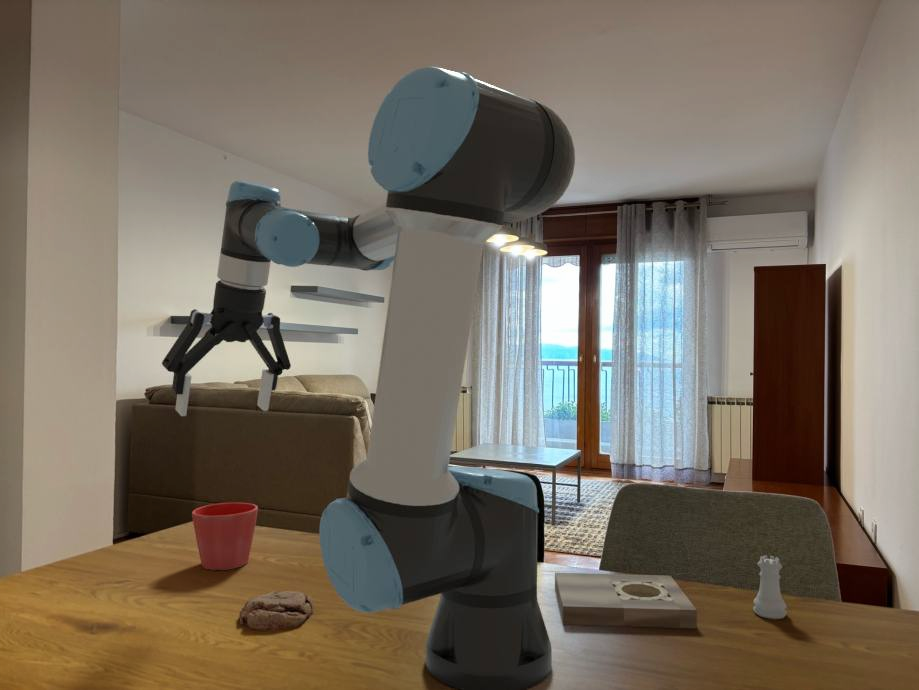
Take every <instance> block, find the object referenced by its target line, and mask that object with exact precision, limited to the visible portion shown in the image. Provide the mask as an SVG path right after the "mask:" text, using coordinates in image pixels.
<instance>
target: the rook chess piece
mask: <svg viewBox="0 0 919 690" xmlns="http://www.w3.org/2000/svg"><path fill="white" fill-rule="evenodd" d="M769 557H770V558H768V555H763V556H759V561H758V562H756V563H757V565H758V567H759V569H760V572H759V573H758V575H759V576H760V583H759V587H758V588H759V589H758V592H757V594H756V597H755V598H754V600H753V604H754V606H753V607H752V609H753V611H754V613H755V614H756V615H757V616H758V617H760V618H764V619H768V620H782V619H784V618H785V617H786V615H788V613H787V611H786V609H787V608H788V607H787V604H786V602H785V601H784V598H783V596H782V594H781V587H780V579H781V575H780V570H781V569H782V568H783V565H782V564H781V563H780V561H781V560H780V558H779V557H775V556H772V555H770V556H769Z"/></svg>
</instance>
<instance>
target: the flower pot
mask: <svg viewBox="0 0 919 690" xmlns="http://www.w3.org/2000/svg"><path fill="white" fill-rule="evenodd" d="M258 511H259V507H258V505H256V504H254V503H249V502H221V503H220V502H219V503H213V504H208V505H204V506H200V507H197V508H195V509H194V510H193V511H192V512H191V518H192V522H193V523H192V524H193V528H194V533H195V539H196V544H197V549H198V553H199V558H200V559H199V560H200V563H201V566H202V568H204V569H205V570H209V569H210V571H217V570H219V571H226V570H233V569H237V568H239V567H240V568H241V567H243V566H245V565H246V564H247V563H248V562H249V560H250V555H251V550H252V545H253V541H254V535H255V530H256V524H257V518H258Z"/></svg>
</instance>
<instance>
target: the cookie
mask: <svg viewBox="0 0 919 690" xmlns="http://www.w3.org/2000/svg"><path fill="white" fill-rule="evenodd" d="M313 608H314V604H313V598H312V597H311V596H310V595H309V594H308V593H307V594H306V593H305V592H301V591H297V590H283V591H280V592H278V590H273V591H270V592H268V593H265V594H262V595H255V596H251V597H250V598H248V599H247V601H246V602H245V604H244V606H242V608H241V609H240V612H239V616H238V617H239V624H240V625H241V626H246V627H247V628H249V629H251V630H253V631H260V632H261V631H263V632H264V631H277V630H286V629H291V628H296V627H298V626H301V625H302V624H303V623H304V622H305V621H306V619H310V618H311V616H312V615H313V614H314V609H313Z"/></svg>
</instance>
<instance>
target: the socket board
mask: <svg viewBox="0 0 919 690" xmlns="http://www.w3.org/2000/svg"><path fill="white" fill-rule="evenodd" d="M554 591H555V596H556V599H557V604H558V609H559V613H560V618H561V621H562V625H570V626H573V625H574V626H601V627H602V626H603V627H604V626H605V627H606V626H607V627H611V626H612V627H629V628H630V627H635V628H636V627H637V628H663V629H664V628H665V629H667V628H669V629H670V628H671V629H696V630H697V627H698V625H697V624H698V623H697V622H698V621H697V620H698V616H697V615H698V614H697V613H698V610H697V608H696V607H695V606H694V605H693V603H692V602H691V600H690V599H689V598H688V596H687V595H686V594H685V593H684V591H683V590H682V589H681V587H680V586H679V584H678V583H677V582H676V581H675V580H674V579H673V577H672V576H671V575H664V574H663V575H660V574H659V575H657V574H624V573H622V574H620V573H619V574H618V573H588V572H587V573H583V572H582V573H580V572H554Z"/></svg>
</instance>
